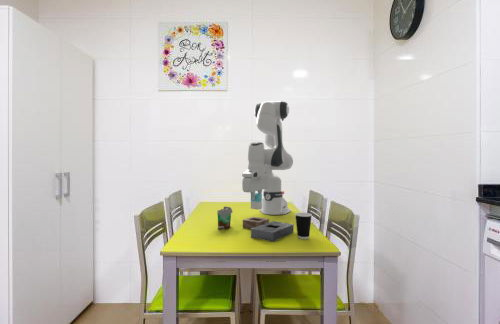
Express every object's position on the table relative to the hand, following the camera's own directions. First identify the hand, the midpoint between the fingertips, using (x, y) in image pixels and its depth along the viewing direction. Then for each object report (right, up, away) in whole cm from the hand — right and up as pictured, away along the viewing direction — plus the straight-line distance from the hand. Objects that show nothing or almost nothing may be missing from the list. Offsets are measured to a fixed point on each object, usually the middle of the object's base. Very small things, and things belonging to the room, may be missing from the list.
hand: (256, 199), depth 164 cm
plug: (0, -5, 0) cm, 5 cm away
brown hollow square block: (0, -15, 0) cm, 15 cm away
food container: (-16, -15, -1) cm, 22 cm away
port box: (+8, -15, -15) cm, 23 cm away
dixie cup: (+22, -16, -19) cm, 33 cm away
